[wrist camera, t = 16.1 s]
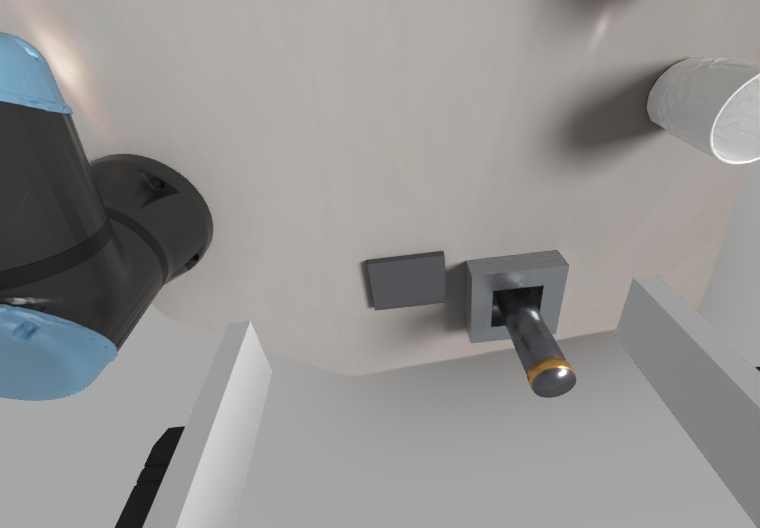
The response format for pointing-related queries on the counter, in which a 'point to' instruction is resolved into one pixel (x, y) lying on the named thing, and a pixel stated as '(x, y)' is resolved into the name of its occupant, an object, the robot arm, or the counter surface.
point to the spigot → (534, 344)
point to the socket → (511, 273)
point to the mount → (407, 280)
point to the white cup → (711, 106)
